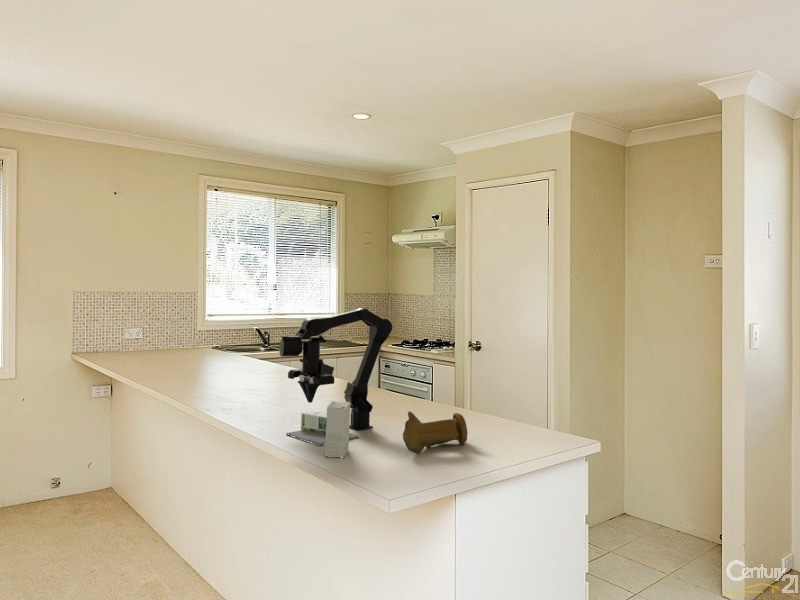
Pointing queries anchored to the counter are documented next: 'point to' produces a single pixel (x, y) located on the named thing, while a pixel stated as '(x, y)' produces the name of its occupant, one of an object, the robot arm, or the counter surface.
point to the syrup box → (314, 421)
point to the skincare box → (337, 429)
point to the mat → (315, 436)
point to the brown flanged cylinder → (433, 432)
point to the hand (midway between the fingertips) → (310, 402)
